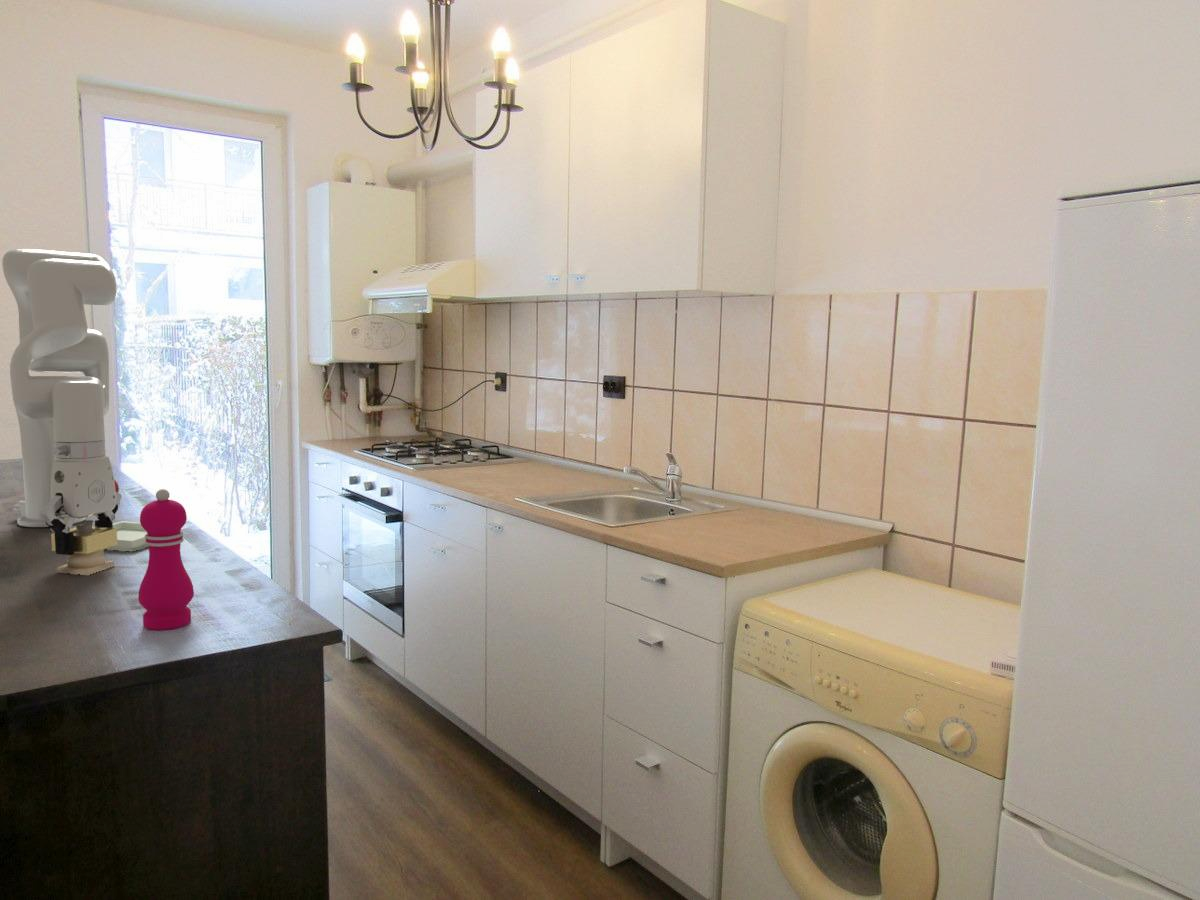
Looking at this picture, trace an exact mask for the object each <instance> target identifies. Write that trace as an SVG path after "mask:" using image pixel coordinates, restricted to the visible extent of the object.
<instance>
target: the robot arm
mask: <svg viewBox="0 0 1200 900" xmlns="http://www.w3.org/2000/svg"><path fill="white" fill-rule="evenodd" d="M1 262H2V264H1V265H2V270H3V275H4V278H5V280H6V283H7V285H8V287H9V288H10V291H11V293H12V295H13V297H14V299H15V302H16V306H17V310H18V311H17V312H18V330H19V331H18V332H19V342H18V343H19V344H18V345H17V346H16V348H15V349H14V351H13V353H12V357H11V360H10V364H9V376H10V385H11V392H12V393H11V394H12V400H13V405H14V408H15V412H16V416H17V421H18V426H19V434H20V443H21V447H20V448H21V459H22V475H23V477H22V478H23V492H24V500H19V501H17V503H16V504H13V506H12V511H15V512H16V511H17V512H21V516H19V517H18V518H17V519H16V522H17V525H18V526H20V527H25V528H50V531H51V532H52V533H55V550H56V551H55V554H56V555H61V556H67V555H73V554H74V535H73V532H69V531H70V529H72V527H73V525H75V524H76V523H79V522H83V521H86V519H87V518H88V517H92V516H95V517H96V520H94V526H96V527H108V528H113V523H114V521H115V519H116V513H117V511H118V510H119V505H120V502H121V499H122V494H121V493H119V491H118V492H116V491H115V483H114V480H115V477H114V472H113V468H112V463H111V461H110V457H109V455H106V440H105V439H106V438H105V435H106V433H105V417H106V416H107V414H108V412H109V406H110V359H109V358H110V356H109V355H110V354H109V347H108V343H107V339H106V338H105V335H104V334H103V333H102V332H100V331H99V330H96V329H94V328H93V329H92V328H88V322H87V316H86V313H85V305H86V306H88V305H90V306H109V305H111V304H113V303H114V301H115V299H116V296H117V282H116V277H115V273H114V272H113V270H112V267H111V266H110V264H109V263H108V262H107V261H105V259H104V258H103V257H101V256H100V255H97V254H94V253H85V252H84V253H83V252H74V251H73V252H70V251H59V250H49V249H37V248H16V249H11V250H8V251H6V252H5V254H3V256H2V261H1ZM29 371H32V372H37V373H49V374H50V373H53V374H54V373H61V374H62V373H63V374H64V373H65V374H67V373H71V374H72V373H73V374H76V373H81V374H83V375H81V376H80V375H79V376H77V375H73V376H71V375H70V376H68V375H36V376H35V375H33V376H32V375H31V374H30V372H29Z"/></svg>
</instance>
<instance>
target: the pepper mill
mask: <svg viewBox="0 0 1200 900" xmlns="http://www.w3.org/2000/svg"><path fill="white" fill-rule="evenodd" d="M155 498H156V500H153V501H151V502H148V503H147V504H146V505H144V507H143V508H142V509H141V511H140V516H139V522H140V523H141V526H142V527H143V528H144V529H145V530H146V531H147V534H145V538H146V539H145V540H146V541H145V544H146V545H148V547H147V548H148V552H149V553H148V554H149V555H148V564H147V568H146V571H145V573H144V576H143V578H142V580H141V582H140V585H139V589H138V597H137V598H138V603H139V604H140V605H141V606H142V608H143V609H145V610H146V611H145V612H144V613H143V614H142V622H143V623H142V625H143V628H145V629H147V630H151V631H167V630H174V629H178V628H179V629H180V628H182V627H184V626H187V625H188V624H190V623H191V621H192V610H191V608H190V607H189V606H188V605H189V604H190V602H191V601H192V600H193V598H194V595H195V592H194V584H193V582H192V579H191V577H190V575H189V574H188V572H187V570H186V568H185V566H184V563H183V560H182V555H181V545H182V543H183V542H184V538H183V537H184V531H182V528H183V527H184V526H185V524H186V523H187V519H188V518H187V512H186V508H185V507H184V506H183V504H182V503H180V502H178V501H176V500H173V499H169V498H170V492H169V491H168V490H167V489H164V488H161V489H159V490H157V491H156V493H155ZM180 530H181V531H180Z"/></svg>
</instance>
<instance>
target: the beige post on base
mask: <svg viewBox="0 0 1200 900" xmlns="http://www.w3.org/2000/svg"><path fill="white" fill-rule="evenodd" d="M93 523H94V520H91V519H88V520H83V521H81V522H78V523H74V527H76V531H77V534H88V533H92V532H93V531H92V526H93ZM66 559H67V560H66V561H67V562H66V564H64V565H60V566H58V567H57V573H58V574H59V573H60V574H67V573H70V574H71V575H78V574H80V575H81V576H91V575H93V573H94V574H96V572H97V573H99V571H100V572H102V570H103V571H106V570H108V569H110V567H111V568H113V566H114V567H115V561H114V560H106V559H105V550H104V549H101V550H98V551H95V552H92V553H89V554H83V553H74V554H73V555H66ZM107 568H108V569H107ZM70 574H69V575H70ZM90 574H91V575H90Z"/></svg>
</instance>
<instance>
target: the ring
mask: <svg viewBox="0 0 1200 900" xmlns="http://www.w3.org/2000/svg"><path fill="white" fill-rule="evenodd" d="M92 531H93V532H92V533H88V534H77V531H76V526H74V527H73V528H72V527H71V529H70V531H69V532H73V535H74V553H83V554H89V553H92V552H95V551H98V550H101V549H105V548H108V547H111V546H114V545H117V528H108V527H96V526H95V525H92ZM50 538H51V541H50V542H51V551H52V552H56V550H55V532H52V533H51V534H50Z"/></svg>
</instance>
